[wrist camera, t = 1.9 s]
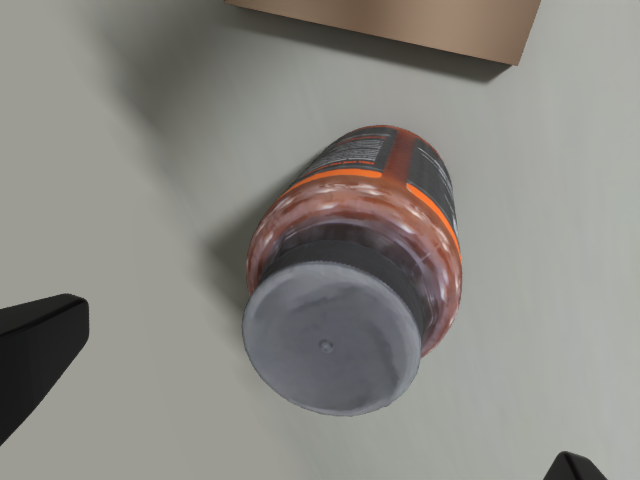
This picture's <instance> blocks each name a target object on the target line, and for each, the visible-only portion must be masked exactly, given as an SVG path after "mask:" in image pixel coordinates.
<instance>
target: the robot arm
mask: <svg viewBox="0 0 640 480" xmlns="http://www.w3.org/2000/svg"><path fill="white" fill-rule="evenodd" d="M88 337H89V306H88V302H87V300H85V299H84V298H81V297H78V296H75V295H72V294H60V295H56V296H53V297H48V298H44V299H40V300H36V301H32V302H28V303H24V304H20V305H16V306H12V307H7V308H3V309H0V446H1V445H2V444H3V443H4V442H5V441H6V440H7V439H8V438H9V436H10V435H11V434H12V433H13V432H14V431H15V430H16V429H17V428H18V427H19V426H20V425H21V424H22V423H23V422H24V421H25V419H26V418H27V417H28V416H29V415H30V414H31V413H32V412H33V410H34V409H35V408H36V407H37V406H38V405H39V403H40V402H41V401H42V400H43V399H44V397H45V396H46V395H47V393H48V392H49V391H50V389H51V388H52V387H53V386H54V384H55V383H56V382H57V380H58V379H59V378H60V377H61V375H62V374H63V372H64V371H65V370H66V369H67V368H68V366H69V365H70V364H71V362H72V361H73V360H74V358H75V357H76V356H77V355H78V353H79V352H80V351H81V349H82V348H83V347H84V345H85V344H86V342H87V340H88ZM543 480H607V479H606V477H605V476H604V475H603V474H602V473H601V472H600V471H599V469H598V468H597V467H596V466H595V465H594V464H593V463H592V462H591V461H590V460H589V459H588V458H586V457H583V456H580V455H577V454H574V453H571V452H567V451H563V452H560V453H559V454H558V455H557V457H556V458H555V460H554V462H553V464H552V465H551V467H550V469H549V470H548V472H547V474H546V475H545V477H544V479H543Z"/></svg>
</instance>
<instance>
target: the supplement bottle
mask: <svg viewBox="0 0 640 480" xmlns="http://www.w3.org/2000/svg"><path fill="white" fill-rule="evenodd" d="M246 279H247V287H248V291H249V297H250V298H249V300H248V302H247V305H246V308H245V310H244V315H243V320H242V336H243V341H244V346H245V350H246V352H247V354H248V357H249V359H250V361H251V363H252V365H253V367H254V369H255V370H256V371H257V373H258V374H259V376H260V377H261V379H262V380H263V381H264V382H265V383H266V384H267V385H268V386H270V387H271V388H272V389H273V390H274V391H275V392H276V393H278V394H279V395H280V396H282V397H283V398H285V399H287V400H288V401H289V402H291V403H293V404H295V405H297V406H300V407H301V408H304V409H307V410H310V411H314V412H316V413H319V414H324V415H333V416H356V415H362V414H366V413H369V412H372V411H375V410H379V409H380V408H382V407H387V406H388V405H390V404H391V403H392V402H393V401H394V400H396V399H397V398H399V397H400V396H401V395H402V394H403V393H404V392H405V391H406V390H407V389H408V387H409V385H410V384H411V383H412V381H413V379H414V378H415V376H416V374H417V371H418V368H419V363H420V359H421V358H422V357H424V356H425V355H427V354H428V353H430V352H431V351H432V350H433V349H434V348H435V347H436V346H437V345H438V344H439V342H440V341H441V340H442V339H443V338H444V336H445V334H446V333H447V331H448V330H449V328H450V327H451V325H452V323H453V321H454V319H455V316H456V314H457V311H458V308H459V304H460V299H461V291H462V265H461V256H460V247H459V238H458V230H457V221H456V214H455V206H454V198H453V191H452V184H451V180H450V177H449V174H448V171H447V169H446V167H445V165H444V162H443V161H442V159H441V158H440V156H439V154H438V153H437V151H436V150H435V149H434V148H433V147H432V146H431V145H430V144H428V143H427V142H426V141H425V140H423V139H422V138H421V137H419V136H417V135H416V134H414V133H412V132H410V131H407V130H404V129H401V128H398V127H395V126H388V125H376V126H368V127H363V128H359V129H356V130H354V131H352V132H349V133H347V134H345V135H344V136H342V137H340V138H339V139H338V140H336V141H335V142H334V143H332V144H331V145H330V146H329V147H328V148H326V149H325V151H324V152H323V153H322V154H321V155H320V156H319V157H318V158H317V159H316V160H315V161H314V162H313V163H312V164H311V165H310V166H309V167H308V168H307V169H306V170H305V171H304V173H303V174H301V175H300V176H299V177H298V179H297V180H296V181H295V182H294V183H293V184H292V185H290V186H289V188H288V189H287V190H286V191H285V192H284V193H283V194H281V196H280V197H279V199H278V200H277V201H276V202H275V203H274V204H273V205H272V206H271V207H270V209H269V210H268V211H267V212H266V214H265V215H264V217H263V218H262V220H261V221H260V223H259V225H258V227H257V229H256V231H255V233H254V234H253V237H252V239H251V243H250V246H249V250H248V254H247V260H246Z"/></svg>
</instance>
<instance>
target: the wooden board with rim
mask: <svg viewBox="0 0 640 480" xmlns="http://www.w3.org/2000/svg"><path fill="white" fill-rule="evenodd" d="M540 2H541V0H225V4H230V5H235V6H239V7H244V8H249V9H253V10H258V11H263V12H267V13H272V14H277V15H281V16H286V17H291V18H295V19H300V20H305V21H310V22H314V23H319V24H324V25H328V26H333V27H338V28H342V29H347V30H352V31H356V32H361V33H366V34H370V35H375V36H380V37H384V38H389V39H394V40H398V41H403V42H408V43H412V44H417V45H422V46H426V47H431V48H436V49H440V50H445V51H450V52H454V53H459V54H464V55H468V56H473V57H478V58H482V59H487V60H492V61H496V62H501V63H506V64H510V65H515V66H518V64H519V61H520V58H521V56H522V53H523V50H524V47H525V44H526V42H527V39H528V36H529V33H530V30H531V27H532V25H533V22H534V19H535V16H536V13H537V10H538V8H539V5H540Z"/></svg>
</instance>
